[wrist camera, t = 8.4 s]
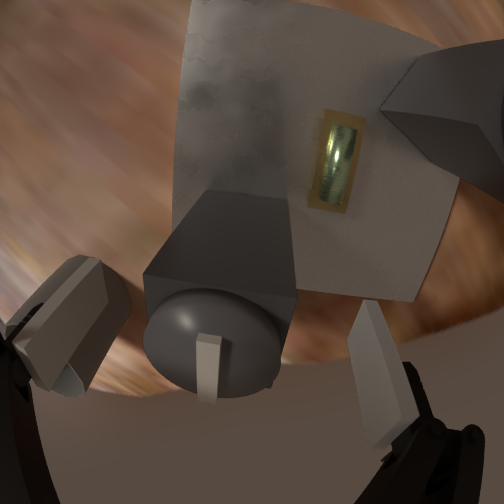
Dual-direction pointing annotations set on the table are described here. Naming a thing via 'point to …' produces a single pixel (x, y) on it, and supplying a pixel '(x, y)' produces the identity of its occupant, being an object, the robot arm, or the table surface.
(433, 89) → the knob
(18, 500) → the robot arm
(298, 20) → the base plate
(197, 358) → the knob
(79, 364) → the cup
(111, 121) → the table surface
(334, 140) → the bubble vial
